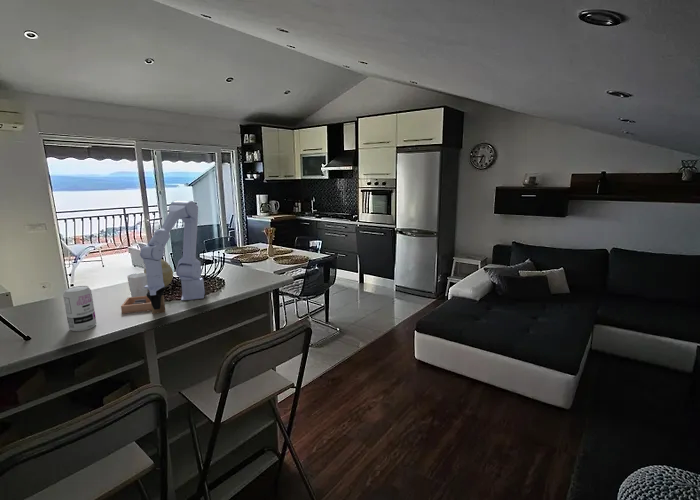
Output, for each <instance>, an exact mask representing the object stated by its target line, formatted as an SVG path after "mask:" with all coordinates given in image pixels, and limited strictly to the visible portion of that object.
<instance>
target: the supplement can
mask: <svg viewBox="0 0 700 500" xmlns="http://www.w3.org/2000/svg"><path fill="white" fill-rule="evenodd" d="M62 297H63V303H64V308H65V309H64V310H65V314H66V319H67V324H68V325H67V326H68V330H70V331H71V332H84V331H88V330H90V329H93V328H94V327H95V326H96V325H97V318H96V317H97V316H96V311H95V305H94V299H93V293H92V289H91V288H90V287H89V286H88V285H78V286H72V287H68V288H66V289H64V292H63V295H62Z"/></svg>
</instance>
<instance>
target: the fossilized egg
mask: <svg viewBox="0 0 700 500" xmlns="http://www.w3.org/2000/svg"><path fill="white" fill-rule="evenodd" d="M161 265H162V273H163V282H164V286H166V287H168V286H169V285H170V284H171V282H172V280H173V278H174V270H173V269H172V266H171V265H170V264H169V263H168V262H167V261H166V260H164V259H162V258H161ZM143 273H146V268H144V270H143Z"/></svg>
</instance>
